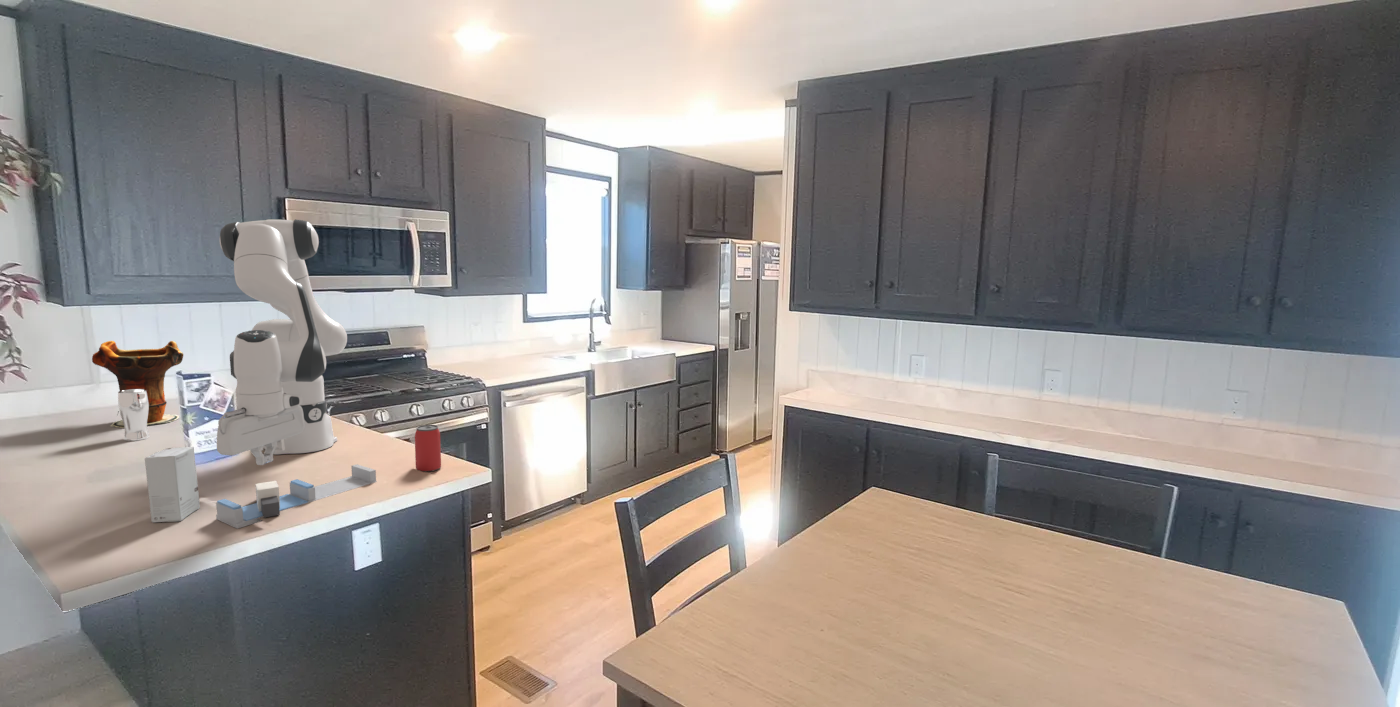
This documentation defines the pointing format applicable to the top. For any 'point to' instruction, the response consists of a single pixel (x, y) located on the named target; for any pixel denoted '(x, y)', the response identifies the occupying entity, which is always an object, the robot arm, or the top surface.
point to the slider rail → (294, 497)
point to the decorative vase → (141, 374)
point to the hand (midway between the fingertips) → (264, 463)
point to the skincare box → (172, 484)
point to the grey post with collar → (268, 498)
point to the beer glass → (134, 413)
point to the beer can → (427, 448)
